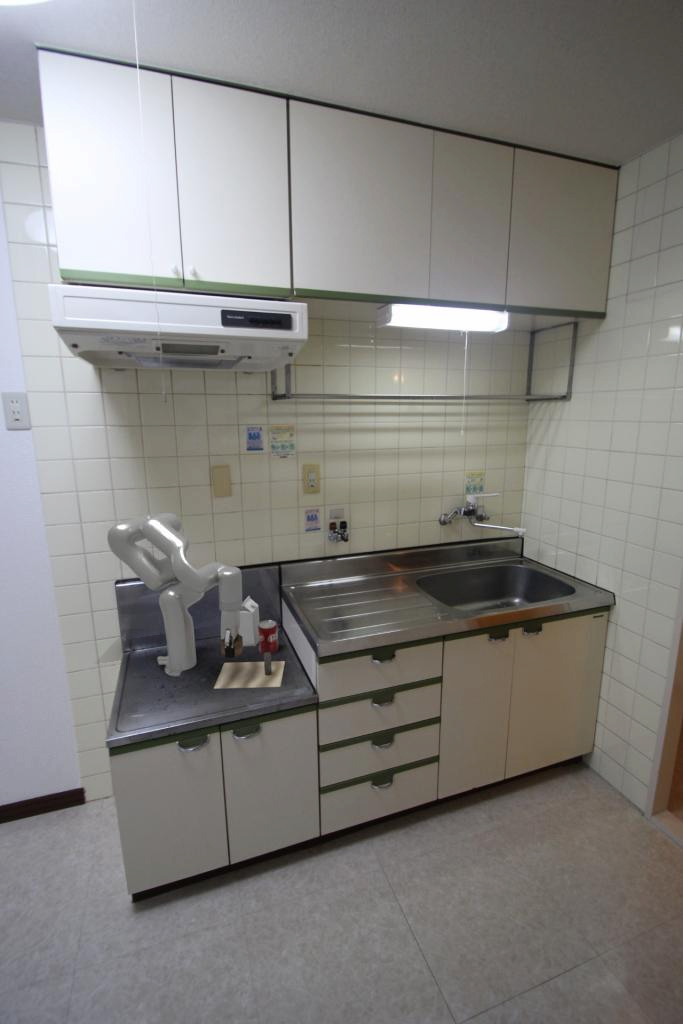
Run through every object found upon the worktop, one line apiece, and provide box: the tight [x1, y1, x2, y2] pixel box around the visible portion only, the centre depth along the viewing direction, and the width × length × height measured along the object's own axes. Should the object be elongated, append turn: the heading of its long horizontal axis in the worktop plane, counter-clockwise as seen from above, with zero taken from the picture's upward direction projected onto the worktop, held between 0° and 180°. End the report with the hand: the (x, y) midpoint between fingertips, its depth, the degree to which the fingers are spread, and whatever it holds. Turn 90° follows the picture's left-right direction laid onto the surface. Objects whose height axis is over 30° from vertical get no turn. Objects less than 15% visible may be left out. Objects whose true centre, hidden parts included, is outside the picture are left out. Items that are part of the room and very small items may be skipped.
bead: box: [220, 634, 244, 658], centre depth 160 cm, size 7×7×5 cm
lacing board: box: [213, 652, 286, 690], centre depth 161 cm, size 22×16×9 cm
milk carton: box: [239, 595, 261, 647], centre depth 185 cm, size 7×7×19 cm
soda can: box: [258, 619, 279, 655], centre depth 178 cm, size 7×7×12 cm
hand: (232, 651), depth 160 cm, fingers closed on bead, 6 cm apart
